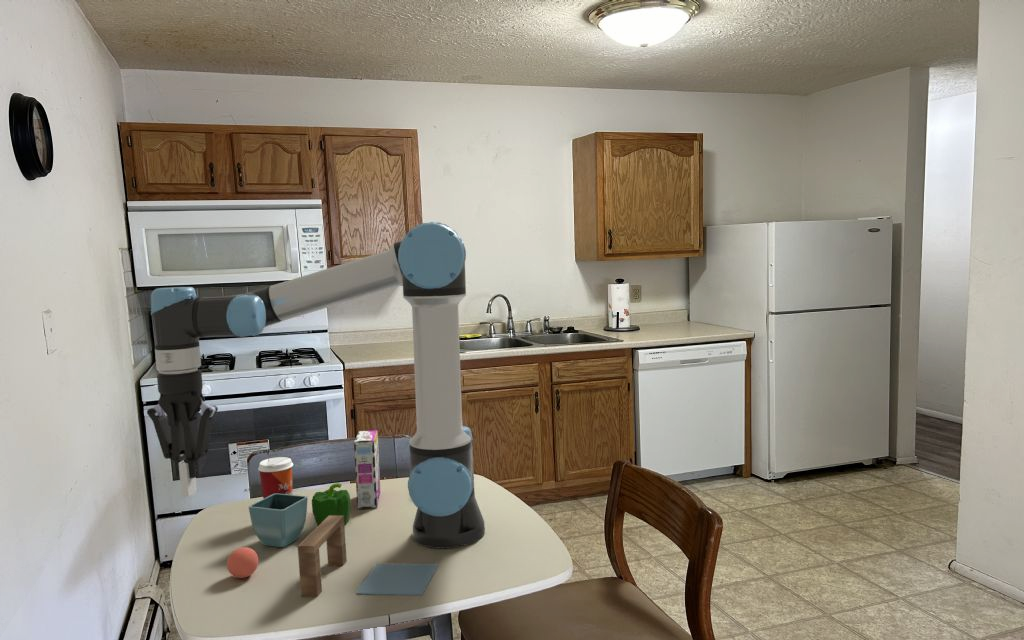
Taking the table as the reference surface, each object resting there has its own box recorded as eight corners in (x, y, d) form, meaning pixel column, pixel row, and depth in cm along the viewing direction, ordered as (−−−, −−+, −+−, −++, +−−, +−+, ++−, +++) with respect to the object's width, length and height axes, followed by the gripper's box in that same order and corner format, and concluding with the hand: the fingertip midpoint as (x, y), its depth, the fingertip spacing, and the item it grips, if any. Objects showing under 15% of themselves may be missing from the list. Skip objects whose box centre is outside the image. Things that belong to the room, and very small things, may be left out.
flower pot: (311, 536, 152) (308, 495, 151) (285, 553, 144) (282, 510, 143) (277, 532, 155) (274, 492, 154) (250, 548, 147) (247, 506, 146)
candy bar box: (378, 508, 168) (374, 440, 166) (356, 510, 167) (352, 442, 166) (381, 492, 179) (378, 429, 177) (361, 494, 178) (357, 430, 177)
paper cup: (290, 526, 158) (286, 465, 157) (256, 527, 158) (252, 466, 157) (301, 513, 166) (297, 455, 165) (269, 515, 166) (265, 456, 165)
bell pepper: (304, 533, 154) (301, 488, 153) (326, 519, 162) (323, 477, 161) (338, 537, 151) (335, 491, 150) (358, 522, 159) (355, 479, 158)
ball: (264, 570, 136) (262, 542, 136) (250, 583, 131) (248, 554, 130) (237, 569, 137) (235, 542, 136) (222, 583, 131) (220, 554, 131)
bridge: (346, 561, 139) (343, 515, 138) (317, 596, 124) (314, 546, 123) (331, 560, 139) (328, 515, 138) (301, 596, 125) (297, 546, 124)
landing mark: (437, 565, 135) (437, 564, 135) (422, 595, 123) (422, 594, 123) (376, 564, 137) (376, 563, 137) (355, 594, 125) (355, 593, 125)
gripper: (133, 374, 128) (144, 501, 131) (200, 373, 127) (210, 501, 129) (159, 367, 136) (169, 487, 138) (222, 366, 134) (232, 487, 136)
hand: (189, 494), depth 133 cm, fingers closed
